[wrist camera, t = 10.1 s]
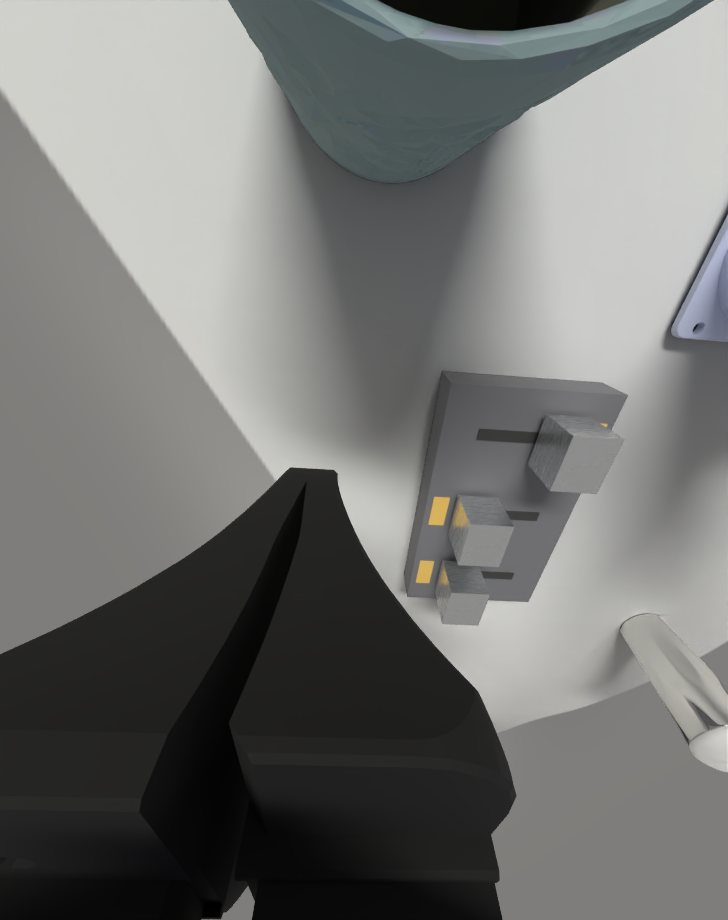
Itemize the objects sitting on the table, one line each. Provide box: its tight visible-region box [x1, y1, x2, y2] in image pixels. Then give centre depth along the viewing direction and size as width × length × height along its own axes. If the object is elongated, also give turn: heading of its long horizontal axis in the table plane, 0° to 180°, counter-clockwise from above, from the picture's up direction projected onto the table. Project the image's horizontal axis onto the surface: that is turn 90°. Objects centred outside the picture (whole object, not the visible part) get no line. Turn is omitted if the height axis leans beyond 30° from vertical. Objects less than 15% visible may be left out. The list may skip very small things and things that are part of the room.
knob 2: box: [435, 561, 490, 625], centre depth 21 cm, size 2×3×2 cm
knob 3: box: [528, 414, 624, 494], centre depth 16 cm, size 2×3×2 cm
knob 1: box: [448, 495, 514, 567], centre depth 18 cm, size 2×3×2 cm
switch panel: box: [404, 371, 628, 602], centre depth 20 cm, size 8×15×2 cm, turn 176°
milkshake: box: [620, 614, 728, 772], centre depth 24 cm, size 4×5×10 cm
